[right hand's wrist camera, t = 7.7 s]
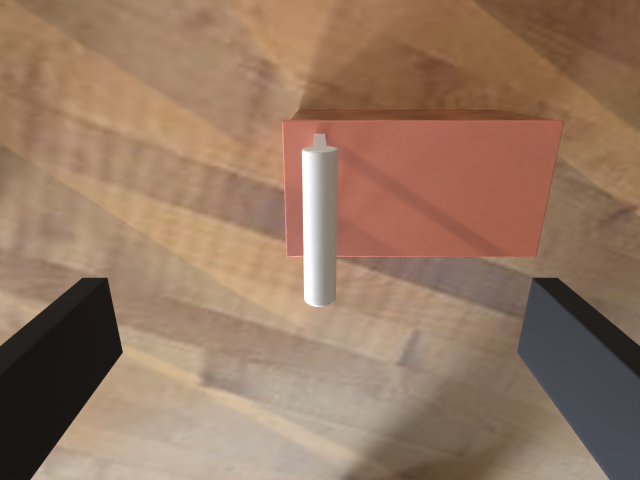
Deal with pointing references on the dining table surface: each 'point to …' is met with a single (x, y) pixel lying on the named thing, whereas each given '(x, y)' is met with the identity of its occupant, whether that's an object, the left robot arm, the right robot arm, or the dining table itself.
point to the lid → (413, 190)
